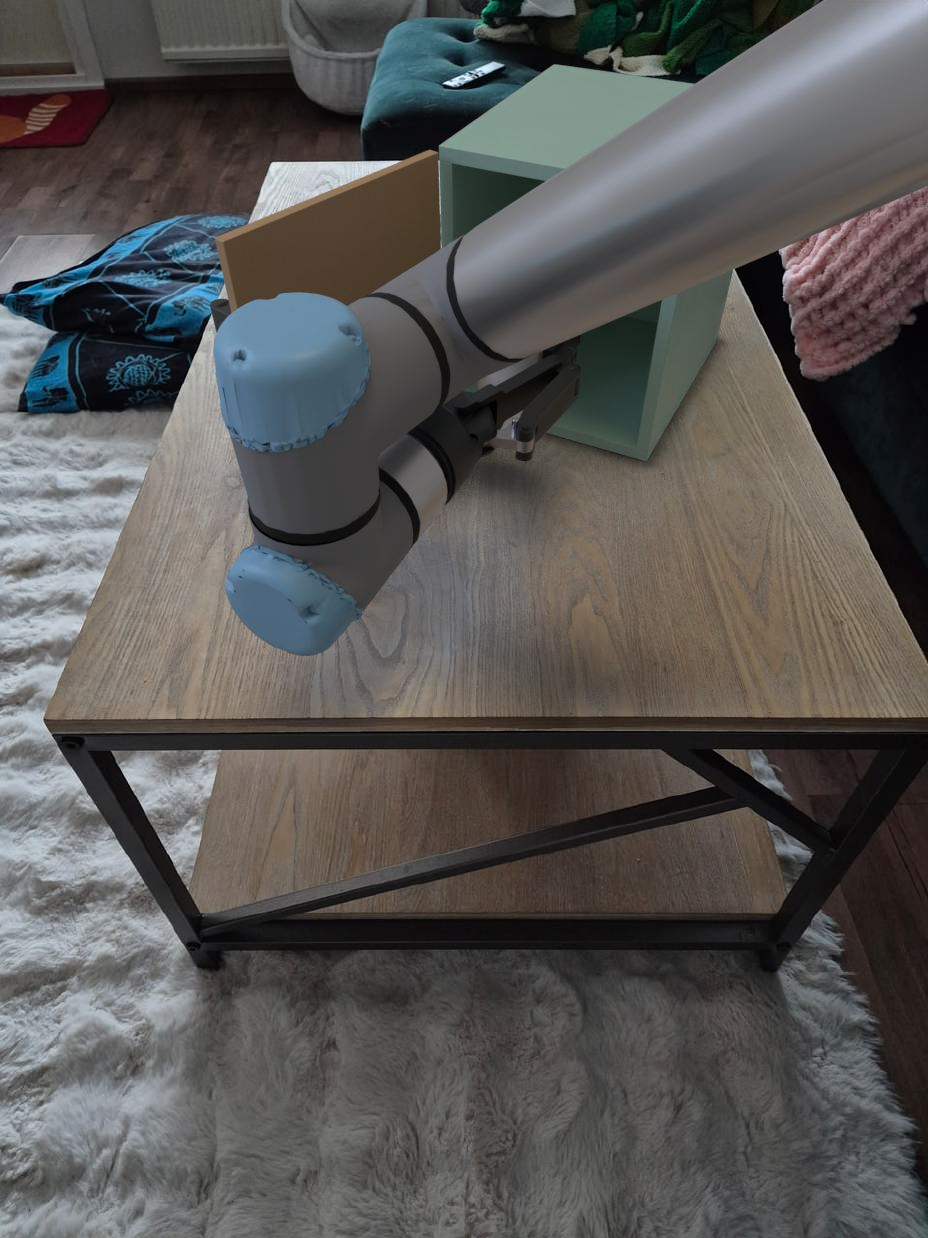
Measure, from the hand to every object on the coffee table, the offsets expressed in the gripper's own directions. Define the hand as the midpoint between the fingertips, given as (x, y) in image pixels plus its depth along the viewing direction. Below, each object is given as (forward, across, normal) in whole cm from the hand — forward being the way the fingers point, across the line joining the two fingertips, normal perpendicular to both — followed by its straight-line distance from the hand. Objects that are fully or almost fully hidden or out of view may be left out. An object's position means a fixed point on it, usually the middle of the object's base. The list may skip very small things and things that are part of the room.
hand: (537, 317), depth 72 cm
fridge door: (-7, -16, -13) cm, 22 cm away
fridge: (+15, 0, -14) cm, 20 cm away
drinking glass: (-5, 0, -8) cm, 10 cm away
